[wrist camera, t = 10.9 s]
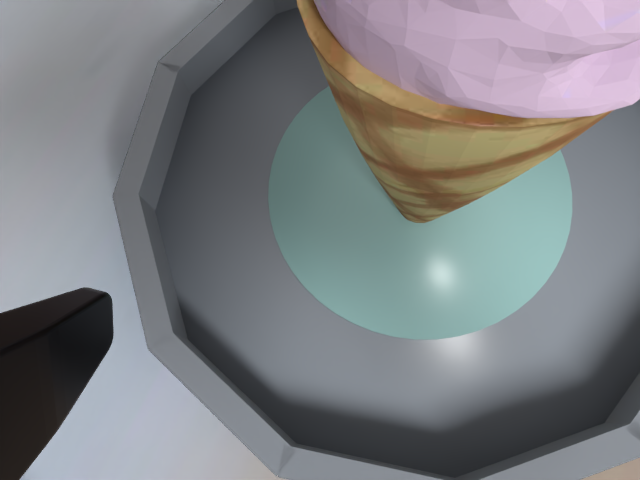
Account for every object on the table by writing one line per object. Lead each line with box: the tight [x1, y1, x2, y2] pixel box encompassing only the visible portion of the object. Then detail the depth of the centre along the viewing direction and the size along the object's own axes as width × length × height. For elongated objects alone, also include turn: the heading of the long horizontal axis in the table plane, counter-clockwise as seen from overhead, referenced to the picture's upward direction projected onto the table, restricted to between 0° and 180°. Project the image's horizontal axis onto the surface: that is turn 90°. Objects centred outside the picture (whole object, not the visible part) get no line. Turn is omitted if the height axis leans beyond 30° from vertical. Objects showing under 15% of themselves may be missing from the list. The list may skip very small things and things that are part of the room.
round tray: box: [113, 0, 640, 480], centre depth 18 cm, size 19×19×2 cm
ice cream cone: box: [297, 0, 640, 223], centre depth 11 cm, size 7×6×15 cm
